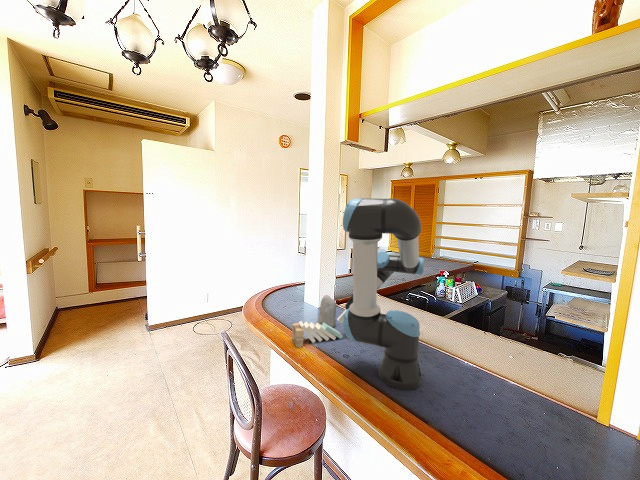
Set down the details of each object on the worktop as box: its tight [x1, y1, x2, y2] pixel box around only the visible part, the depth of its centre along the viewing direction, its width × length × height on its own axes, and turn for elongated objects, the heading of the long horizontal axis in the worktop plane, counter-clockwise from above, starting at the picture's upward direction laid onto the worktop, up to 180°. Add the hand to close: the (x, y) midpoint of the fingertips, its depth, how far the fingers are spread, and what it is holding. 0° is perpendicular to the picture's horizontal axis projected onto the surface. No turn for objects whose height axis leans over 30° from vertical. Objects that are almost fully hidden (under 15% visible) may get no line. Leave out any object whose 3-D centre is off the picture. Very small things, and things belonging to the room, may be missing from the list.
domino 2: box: [303, 321, 323, 343], centre depth 123 cm, size 5×2×10 cm
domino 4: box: [315, 321, 337, 341], centre depth 125 cm, size 5×2×10 cm
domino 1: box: [298, 320, 316, 344], centre depth 122 cm, size 5×2×10 cm
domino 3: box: [308, 321, 330, 342], centre depth 124 cm, size 5×2×10 cm
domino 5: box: [321, 322, 344, 340], centre depth 126 cm, size 5×2×10 cm
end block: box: [291, 322, 304, 348], centre depth 121 cm, size 8×3×8 cm, turn 19°
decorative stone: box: [317, 294, 337, 328], centre depth 141 cm, size 11×6×15 cm, turn 41°
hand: (339, 321), depth 127 cm, fingers closed
